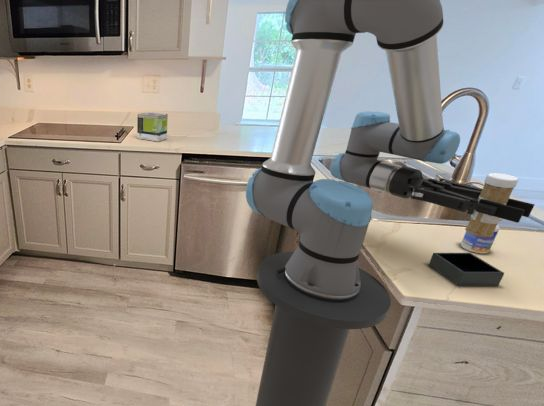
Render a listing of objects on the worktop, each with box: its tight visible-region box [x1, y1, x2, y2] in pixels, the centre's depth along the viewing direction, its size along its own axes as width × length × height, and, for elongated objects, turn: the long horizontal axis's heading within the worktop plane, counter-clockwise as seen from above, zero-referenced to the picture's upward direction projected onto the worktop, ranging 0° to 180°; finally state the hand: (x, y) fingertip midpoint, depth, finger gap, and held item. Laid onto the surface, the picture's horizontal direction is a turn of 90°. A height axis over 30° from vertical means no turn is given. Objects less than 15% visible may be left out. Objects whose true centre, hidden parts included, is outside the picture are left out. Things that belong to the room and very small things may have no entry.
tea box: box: [136, 111, 169, 142], centre depth 213 cm, size 15×10×15 cm
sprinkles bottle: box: [465, 172, 519, 237], centre depth 78 cm, size 5×5×13 cm
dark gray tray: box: [428, 252, 505, 287], centre depth 84 cm, size 8×8×4 cm
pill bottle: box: [460, 224, 500, 254], centre depth 93 cm, size 5×5×10 cm
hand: (525, 213), depth 73 cm, fingers closed on sprinkles bottle, 4 cm apart
